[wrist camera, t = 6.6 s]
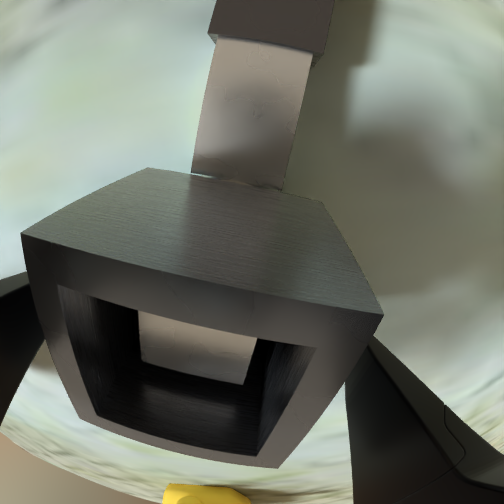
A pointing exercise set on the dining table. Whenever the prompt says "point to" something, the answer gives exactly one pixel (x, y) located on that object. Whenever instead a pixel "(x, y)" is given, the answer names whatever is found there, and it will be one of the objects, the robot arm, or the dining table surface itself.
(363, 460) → the robot arm
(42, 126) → the dining table surface
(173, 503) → the teapot
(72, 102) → the dining table surface
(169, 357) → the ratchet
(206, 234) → the open grey box
